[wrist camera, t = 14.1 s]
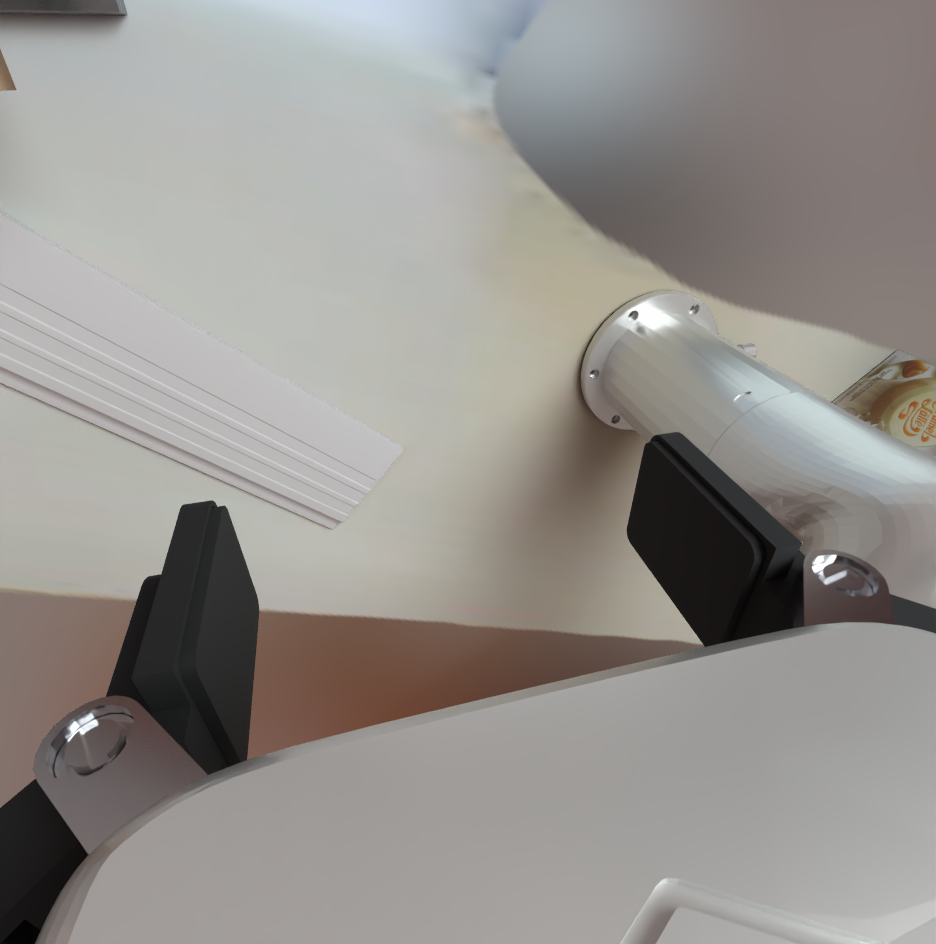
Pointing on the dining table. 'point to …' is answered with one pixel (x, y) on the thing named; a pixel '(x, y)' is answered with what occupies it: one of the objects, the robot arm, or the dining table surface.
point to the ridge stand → (64, 7)
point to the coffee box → (897, 400)
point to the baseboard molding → (174, 384)
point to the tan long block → (5, 76)
